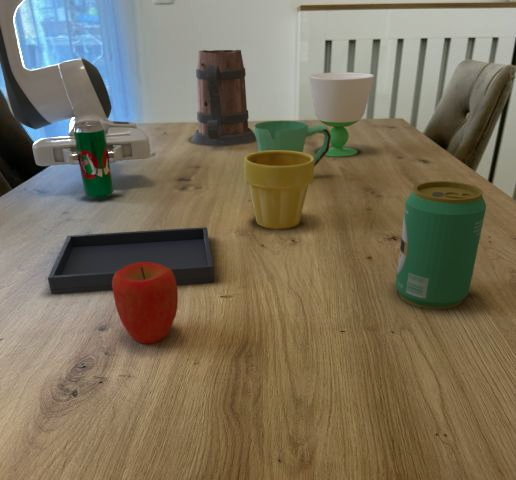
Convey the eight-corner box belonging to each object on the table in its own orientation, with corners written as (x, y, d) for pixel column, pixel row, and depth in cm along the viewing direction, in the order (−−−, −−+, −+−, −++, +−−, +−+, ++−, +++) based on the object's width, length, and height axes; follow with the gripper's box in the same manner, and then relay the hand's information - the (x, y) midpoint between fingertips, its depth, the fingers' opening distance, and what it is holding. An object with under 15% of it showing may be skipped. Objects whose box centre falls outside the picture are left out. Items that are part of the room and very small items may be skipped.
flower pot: (324, 218, 86) (327, 154, 81) (289, 238, 79) (290, 169, 74) (269, 207, 91) (268, 146, 86) (232, 225, 84) (229, 160, 79)
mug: (262, 189, 101) (261, 131, 96) (249, 176, 109) (248, 122, 104) (337, 182, 104) (340, 126, 99) (319, 170, 112) (321, 117, 107)
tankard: (198, 132, 149) (192, 48, 138) (260, 132, 147) (258, 47, 137) (178, 151, 129) (169, 55, 118) (249, 152, 127) (246, 54, 117)
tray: (51, 294, 65) (47, 277, 64) (70, 249, 77) (67, 235, 76) (214, 282, 67) (213, 266, 66) (207, 241, 79) (206, 226, 78)
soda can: (106, 189, 101) (95, 119, 95) (119, 195, 98) (108, 123, 91) (80, 194, 98) (67, 123, 92) (92, 201, 95) (80, 127, 88)
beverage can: (400, 276, 67) (413, 177, 61) (469, 285, 65) (490, 183, 58) (389, 304, 61) (401, 197, 55) (464, 316, 58) (487, 204, 52)
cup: (368, 160, 119) (374, 78, 110) (304, 158, 120) (306, 79, 112) (367, 146, 130) (373, 72, 122) (309, 145, 132) (311, 72, 124)
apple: (194, 334, 56) (188, 266, 52) (147, 359, 52) (136, 287, 48) (155, 315, 60) (147, 250, 56) (108, 337, 56) (95, 269, 52)
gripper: (31, 128, 101) (25, 143, 90) (143, 121, 106) (151, 135, 94) (38, 163, 104) (33, 182, 93) (147, 155, 109) (155, 172, 98)
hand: (93, 158), depth 94 cm, fingers closed on soda can, 5 cm apart
